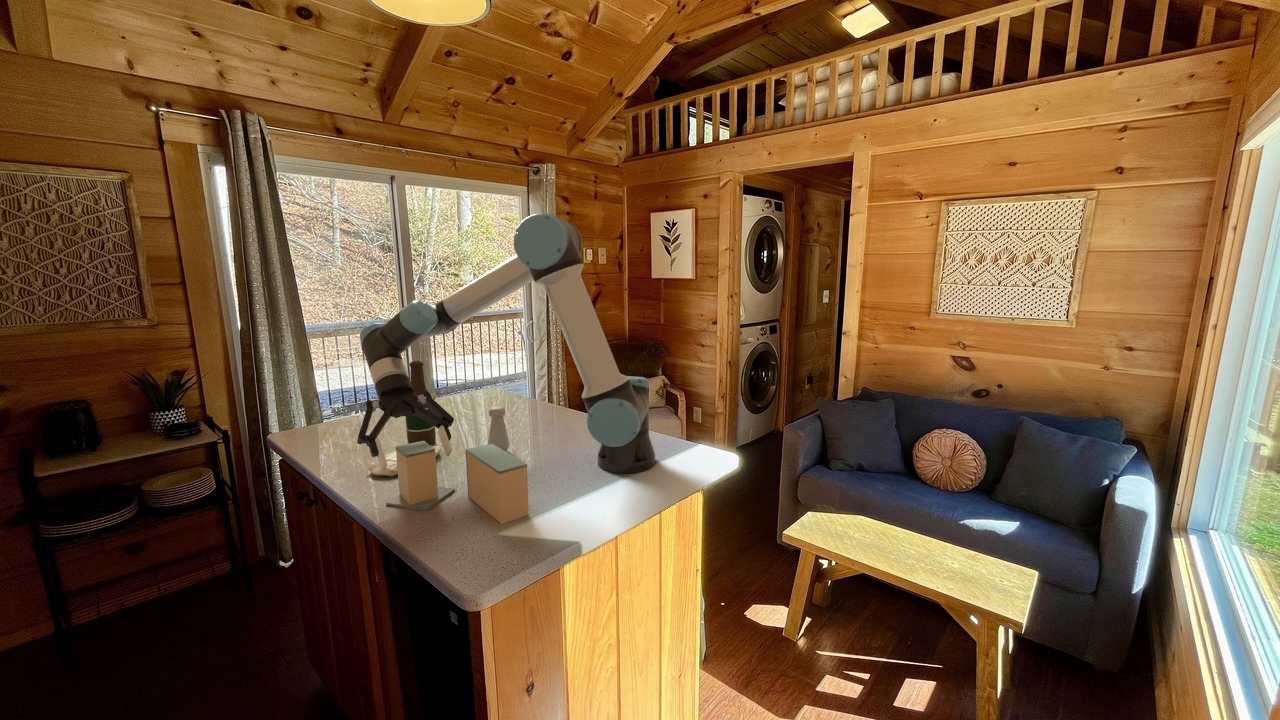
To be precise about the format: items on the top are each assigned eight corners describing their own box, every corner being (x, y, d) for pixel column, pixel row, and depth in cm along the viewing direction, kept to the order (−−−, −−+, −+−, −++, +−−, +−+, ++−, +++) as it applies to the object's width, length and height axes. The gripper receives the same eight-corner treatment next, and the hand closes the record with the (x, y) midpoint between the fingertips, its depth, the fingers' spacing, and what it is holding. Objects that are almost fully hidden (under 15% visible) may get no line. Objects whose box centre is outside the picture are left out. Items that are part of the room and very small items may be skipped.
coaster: (455, 491, 117) (454, 488, 116) (426, 510, 107) (426, 508, 107) (417, 486, 119) (416, 484, 119) (386, 505, 109) (385, 502, 109)
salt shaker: (503, 457, 138) (501, 410, 136) (484, 455, 139) (481, 409, 137) (513, 450, 143) (511, 405, 141) (494, 448, 145) (492, 404, 142)
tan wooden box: (468, 496, 114) (465, 449, 112) (494, 489, 118) (491, 443, 116) (501, 524, 102) (499, 471, 100) (528, 514, 105) (527, 463, 104)
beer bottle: (441, 441, 150) (436, 361, 146) (418, 448, 144) (412, 365, 140) (425, 436, 155) (419, 358, 150) (401, 443, 148) (395, 362, 144)
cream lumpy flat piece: (357, 473, 127) (425, 450, 144) (392, 484, 121) (458, 458, 138) (356, 459, 126) (424, 437, 144) (391, 469, 120) (458, 445, 137)
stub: (399, 494, 114) (395, 446, 112) (427, 486, 117) (423, 440, 115) (409, 504, 108) (405, 455, 106) (438, 496, 112) (435, 448, 110)
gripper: (441, 383, 130) (469, 455, 122) (329, 399, 114) (352, 483, 105) (448, 365, 125) (477, 439, 117) (332, 379, 109) (356, 466, 101)
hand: (418, 460), depth 111 cm, fingers open, 13 cm apart
